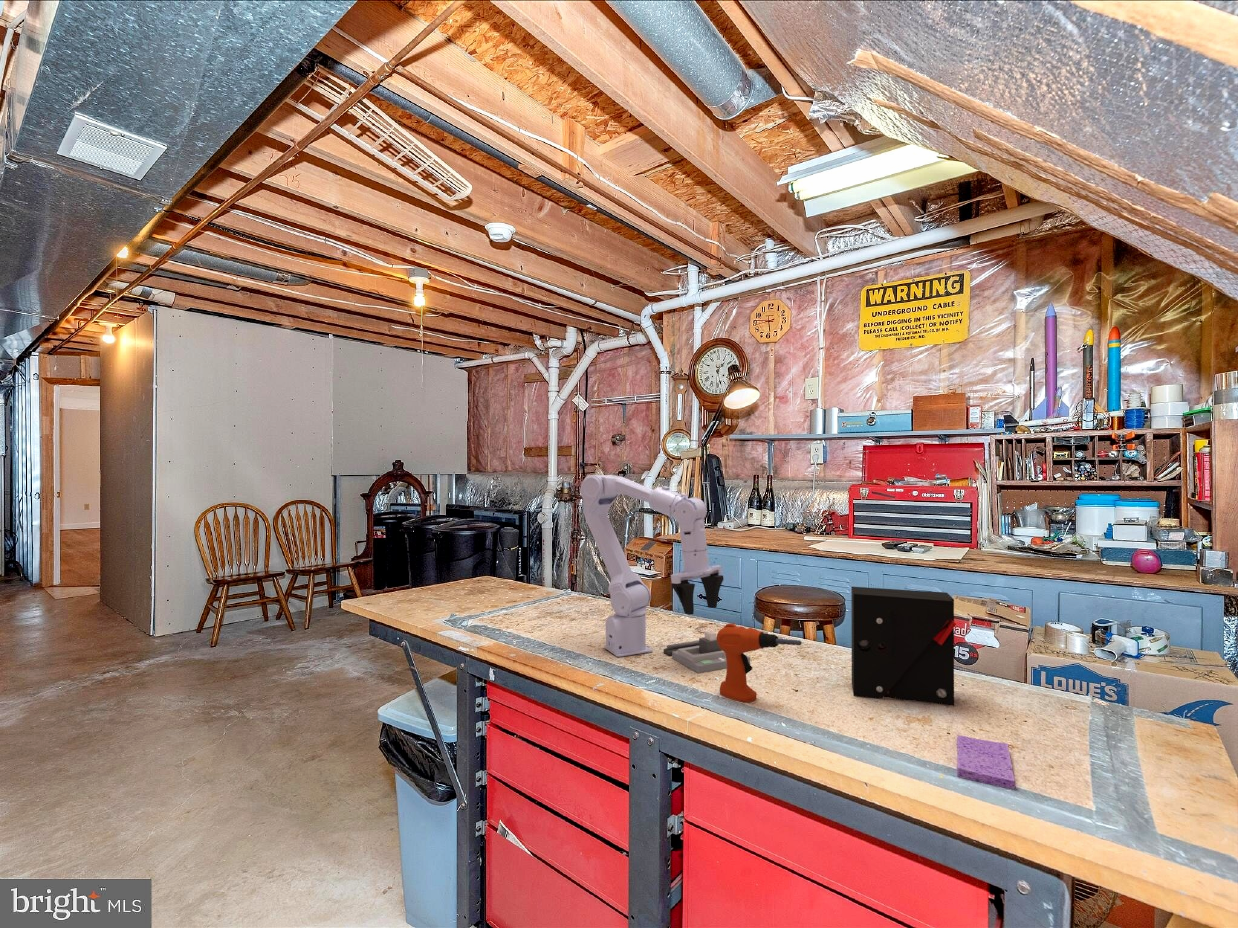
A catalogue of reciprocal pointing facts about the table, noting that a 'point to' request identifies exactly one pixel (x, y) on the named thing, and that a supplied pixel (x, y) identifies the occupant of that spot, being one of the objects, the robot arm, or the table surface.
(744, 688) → the toy drill
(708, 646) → the breaker slider
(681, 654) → the breaker panel
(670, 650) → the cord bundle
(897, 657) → the electrical component
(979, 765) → the sponges
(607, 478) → the robot arm
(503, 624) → the table surface
